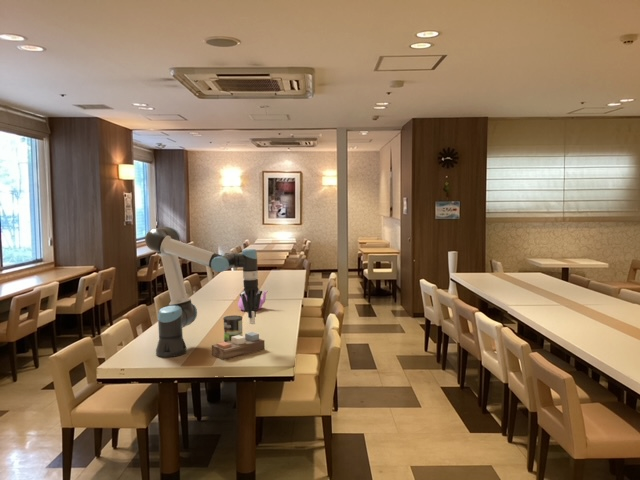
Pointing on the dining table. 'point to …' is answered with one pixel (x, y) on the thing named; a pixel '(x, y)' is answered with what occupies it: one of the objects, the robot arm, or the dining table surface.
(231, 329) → the coffee can
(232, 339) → the ivory key
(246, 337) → the slate key
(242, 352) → the key console
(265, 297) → the teapot
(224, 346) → the terracotta key
